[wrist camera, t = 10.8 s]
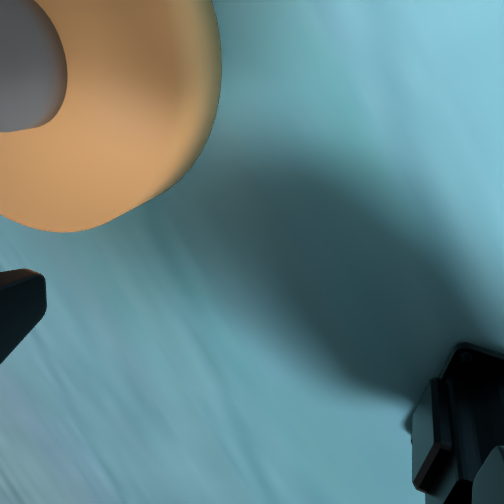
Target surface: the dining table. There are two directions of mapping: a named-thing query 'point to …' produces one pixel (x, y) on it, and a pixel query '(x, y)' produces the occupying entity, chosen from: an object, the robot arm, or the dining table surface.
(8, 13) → the orange and grey base
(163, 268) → the dining table surface
